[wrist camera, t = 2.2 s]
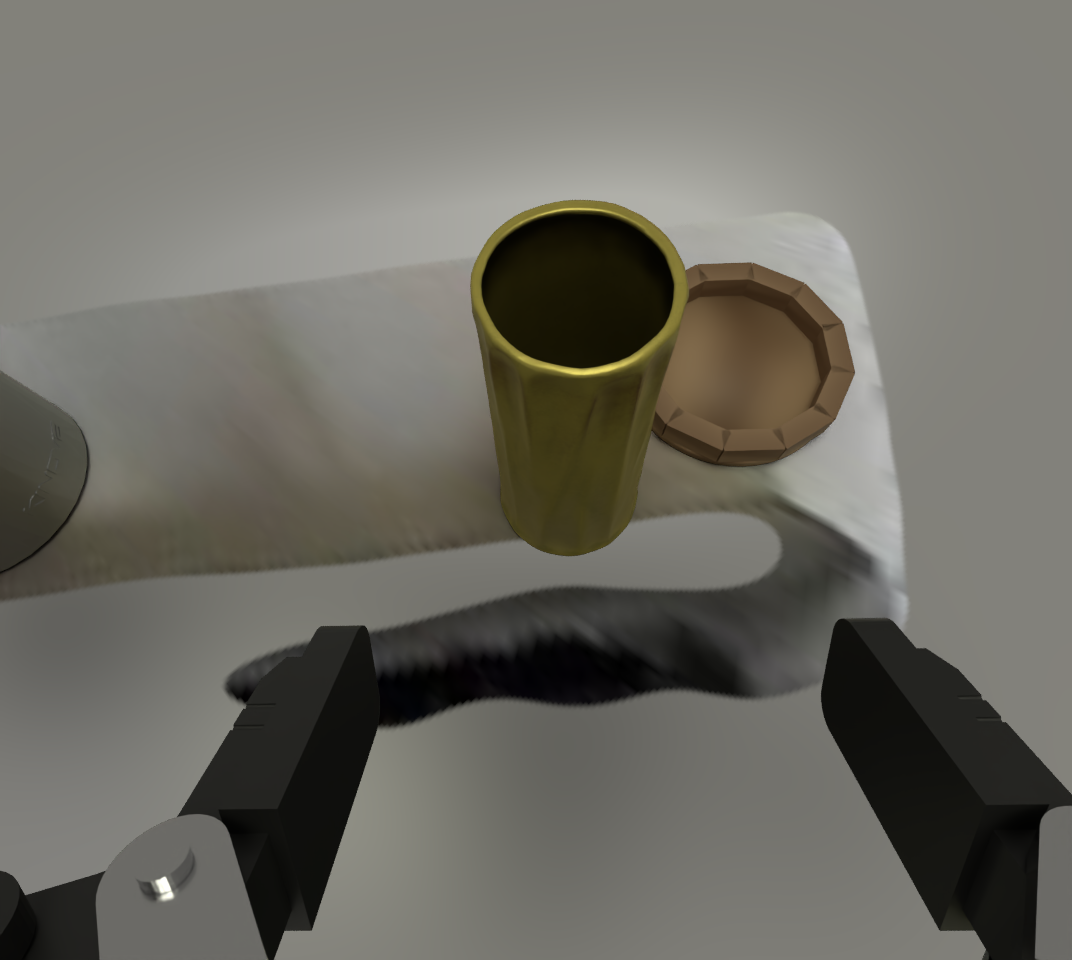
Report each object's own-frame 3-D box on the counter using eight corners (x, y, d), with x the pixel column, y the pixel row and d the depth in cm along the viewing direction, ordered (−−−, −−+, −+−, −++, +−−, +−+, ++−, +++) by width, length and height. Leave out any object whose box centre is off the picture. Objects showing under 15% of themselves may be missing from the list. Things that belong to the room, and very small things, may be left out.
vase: (564, 586, 26) (572, 446, 13) (473, 487, 28) (398, 275, 15) (664, 495, 28) (764, 285, 14) (571, 407, 29) (583, 146, 16)
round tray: (632, 469, 28) (637, 453, 26) (618, 290, 32) (621, 267, 30) (853, 463, 28) (873, 446, 26) (813, 284, 31) (828, 260, 30)
